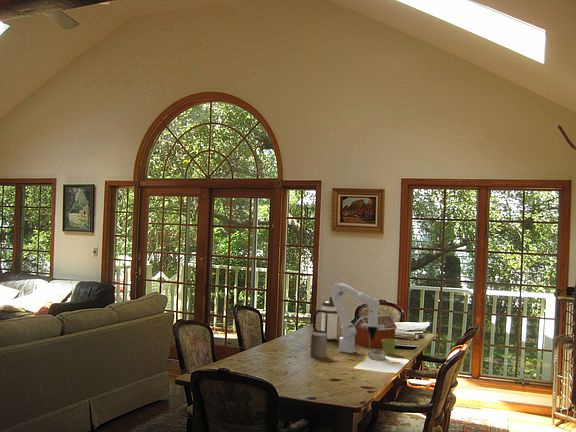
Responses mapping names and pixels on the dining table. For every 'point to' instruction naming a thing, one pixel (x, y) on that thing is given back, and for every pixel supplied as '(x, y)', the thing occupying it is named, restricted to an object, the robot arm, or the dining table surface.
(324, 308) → the coffee press
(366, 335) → the gingerbread house
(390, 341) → the plant pot
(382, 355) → the faceted ring
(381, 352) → the cap
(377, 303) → the robot arm
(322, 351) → the pillar candle
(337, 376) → the dining table surface
